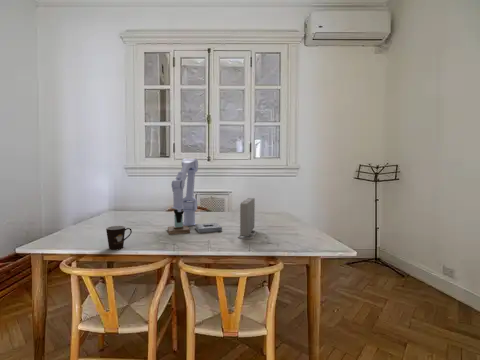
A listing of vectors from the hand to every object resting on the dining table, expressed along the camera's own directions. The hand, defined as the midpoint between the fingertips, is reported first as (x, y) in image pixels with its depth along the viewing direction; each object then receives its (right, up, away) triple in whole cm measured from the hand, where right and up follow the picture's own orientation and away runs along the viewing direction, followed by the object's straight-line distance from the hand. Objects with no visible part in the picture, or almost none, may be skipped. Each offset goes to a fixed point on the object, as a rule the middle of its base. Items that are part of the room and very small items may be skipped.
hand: (178, 222), depth 181 cm
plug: (0, -3, 0) cm, 3 cm away
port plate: (+17, -5, +5) cm, 19 cm away
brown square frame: (0, -6, 0) cm, 6 cm away
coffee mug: (-22, -8, -35) cm, 42 cm away
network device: (+41, -7, -8) cm, 43 cm away
